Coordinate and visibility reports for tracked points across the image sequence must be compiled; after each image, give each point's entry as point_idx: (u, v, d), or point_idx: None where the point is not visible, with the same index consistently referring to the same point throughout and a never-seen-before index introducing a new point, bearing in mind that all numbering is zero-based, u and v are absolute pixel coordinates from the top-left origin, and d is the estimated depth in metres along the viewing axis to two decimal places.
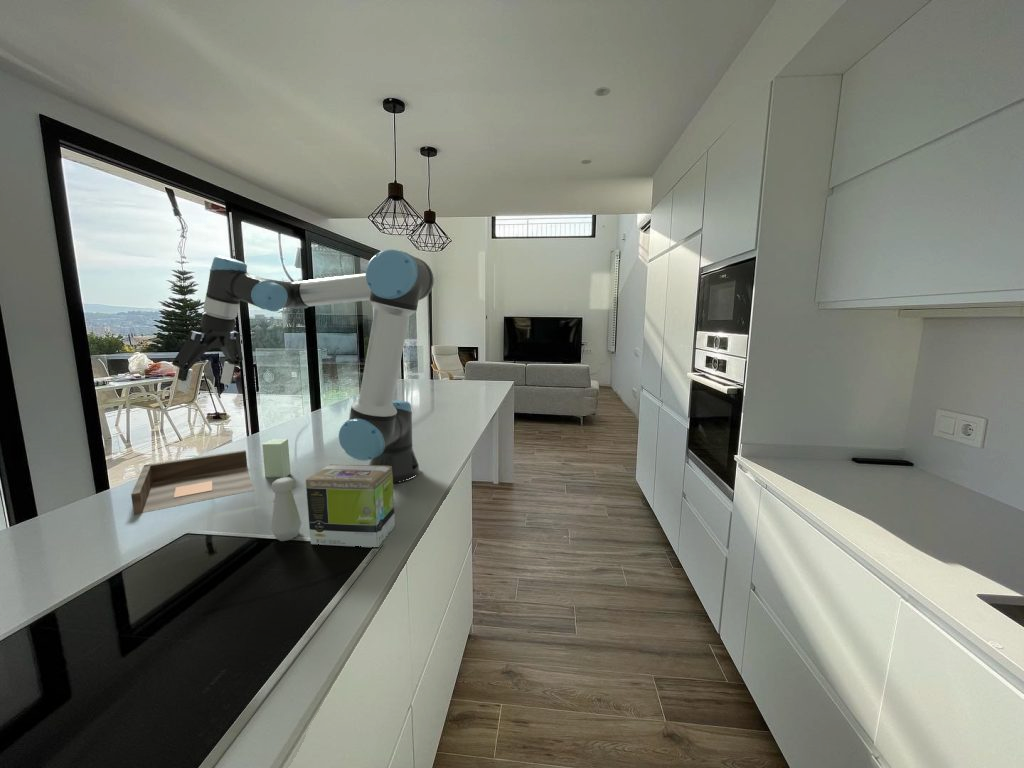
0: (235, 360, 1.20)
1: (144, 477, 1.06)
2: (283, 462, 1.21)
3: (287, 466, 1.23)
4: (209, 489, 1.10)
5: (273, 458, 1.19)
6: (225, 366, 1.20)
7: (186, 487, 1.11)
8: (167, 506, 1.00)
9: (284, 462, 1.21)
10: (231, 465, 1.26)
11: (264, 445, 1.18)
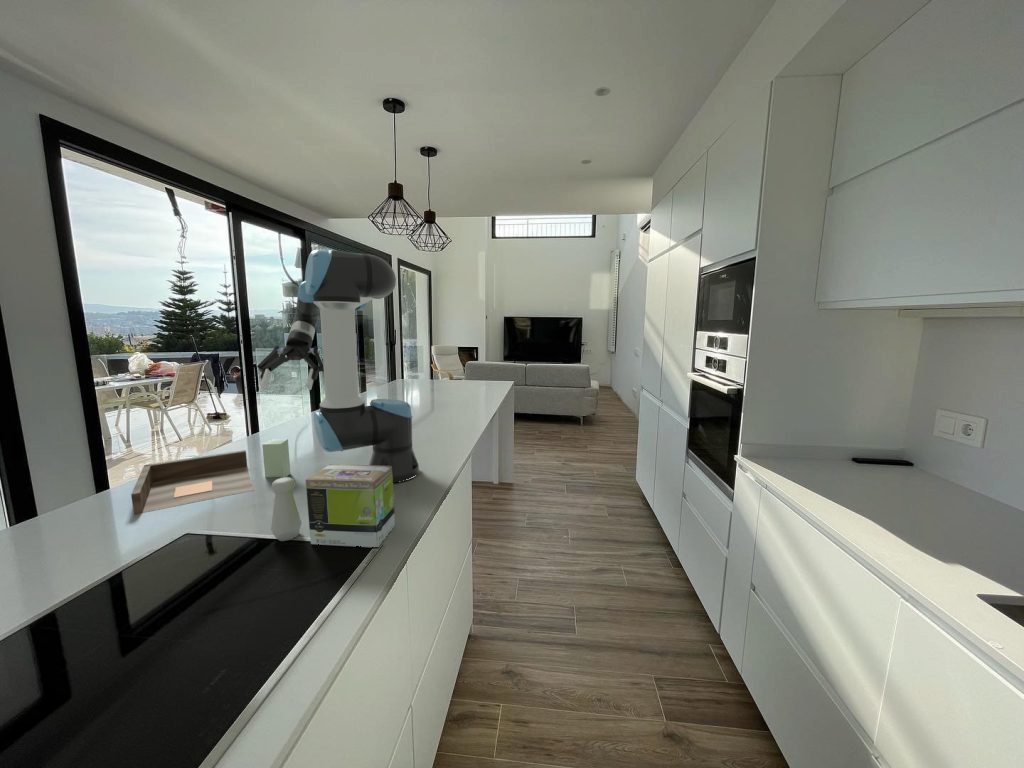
0: (314, 365, 1.33)
1: (144, 477, 1.06)
2: (283, 462, 1.21)
3: (287, 466, 1.23)
4: (209, 489, 1.10)
5: (273, 458, 1.19)
6: None
7: (186, 487, 1.11)
8: (167, 506, 1.00)
9: (284, 462, 1.21)
10: (231, 465, 1.26)
11: (264, 445, 1.18)
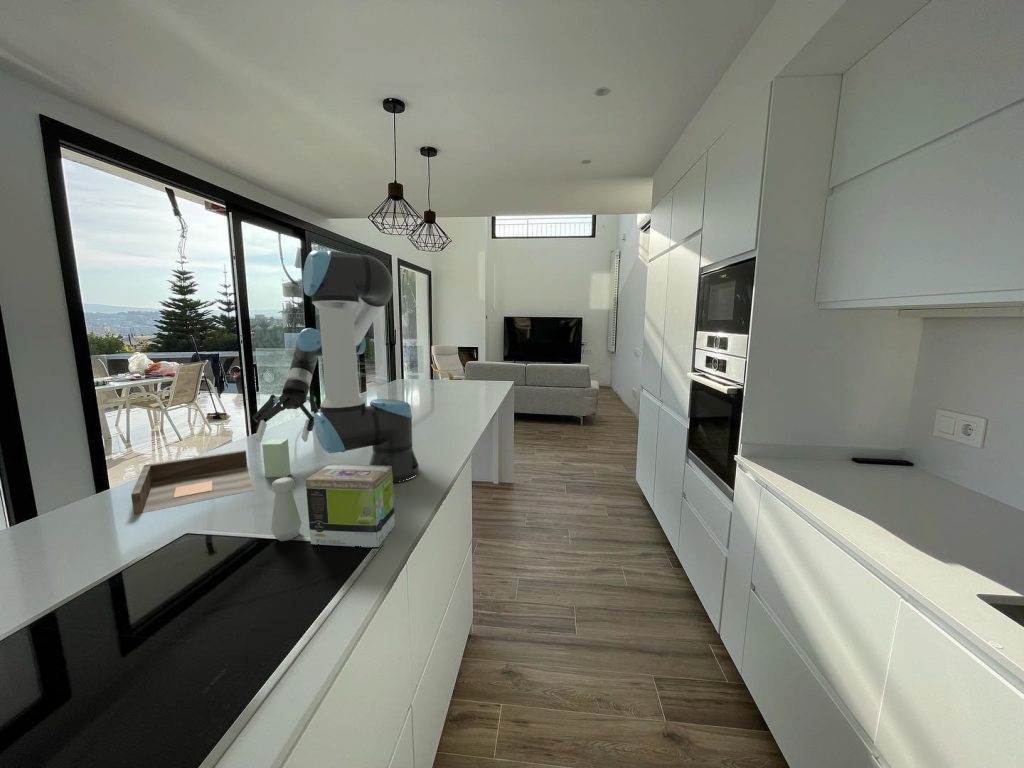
0: (310, 416, 1.31)
1: (144, 477, 1.06)
2: (283, 462, 1.21)
3: (287, 466, 1.23)
4: (209, 489, 1.10)
5: (273, 458, 1.19)
6: None
7: (186, 487, 1.11)
8: (167, 506, 1.00)
9: (284, 462, 1.21)
10: (231, 465, 1.26)
11: (264, 445, 1.18)
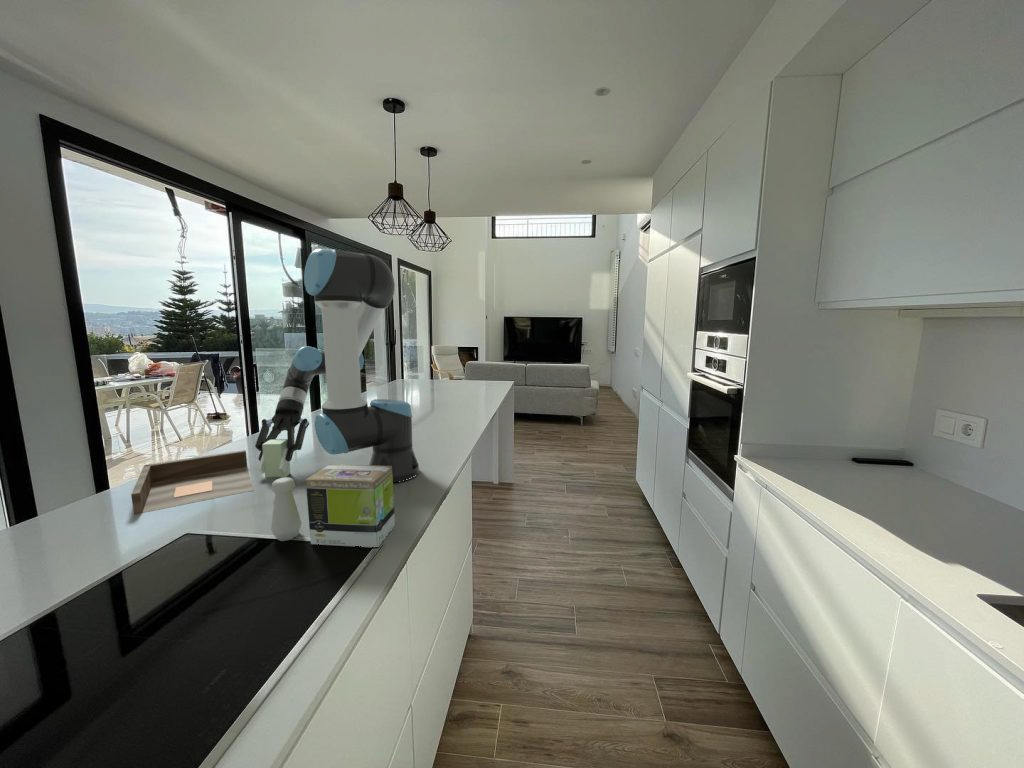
0: (290, 444, 1.22)
1: (144, 477, 1.06)
2: None
3: (287, 466, 1.23)
4: (209, 489, 1.10)
5: (273, 458, 1.19)
6: None
7: (186, 487, 1.11)
8: (167, 506, 1.00)
9: None
10: (231, 465, 1.26)
11: (264, 445, 1.18)
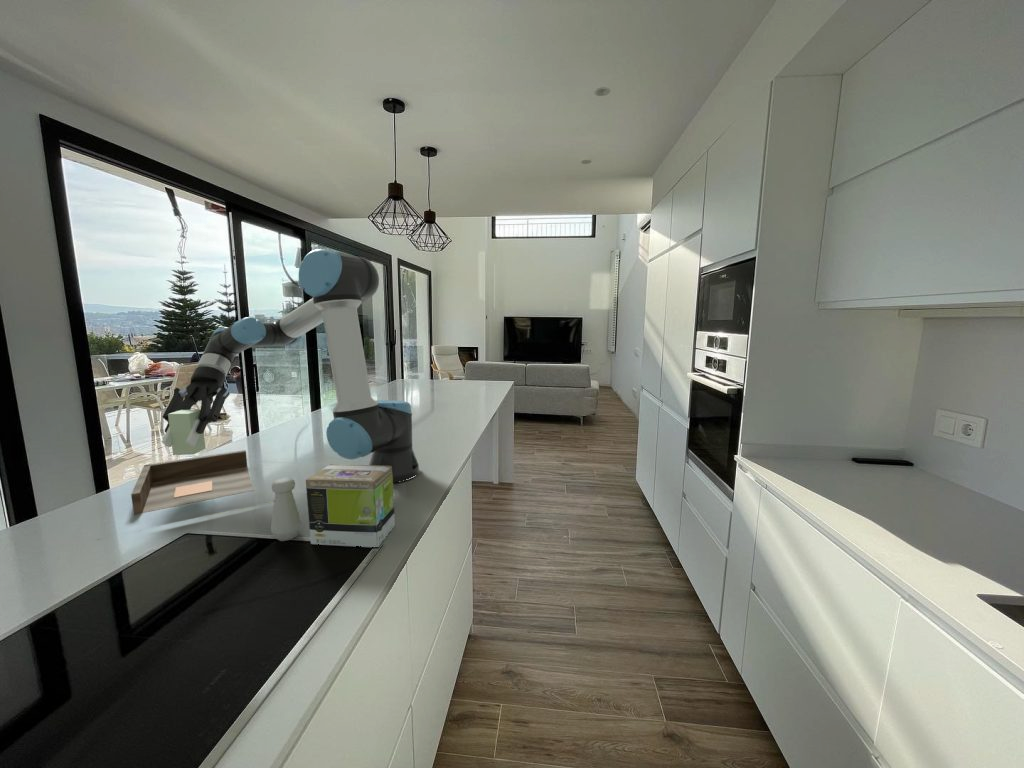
0: (202, 415, 1.09)
1: (144, 477, 1.06)
2: None
3: (201, 440, 1.10)
4: (209, 489, 1.10)
5: (181, 429, 1.06)
6: None
7: (186, 487, 1.11)
8: (167, 506, 1.00)
9: None
10: (231, 465, 1.26)
11: (170, 415, 1.05)
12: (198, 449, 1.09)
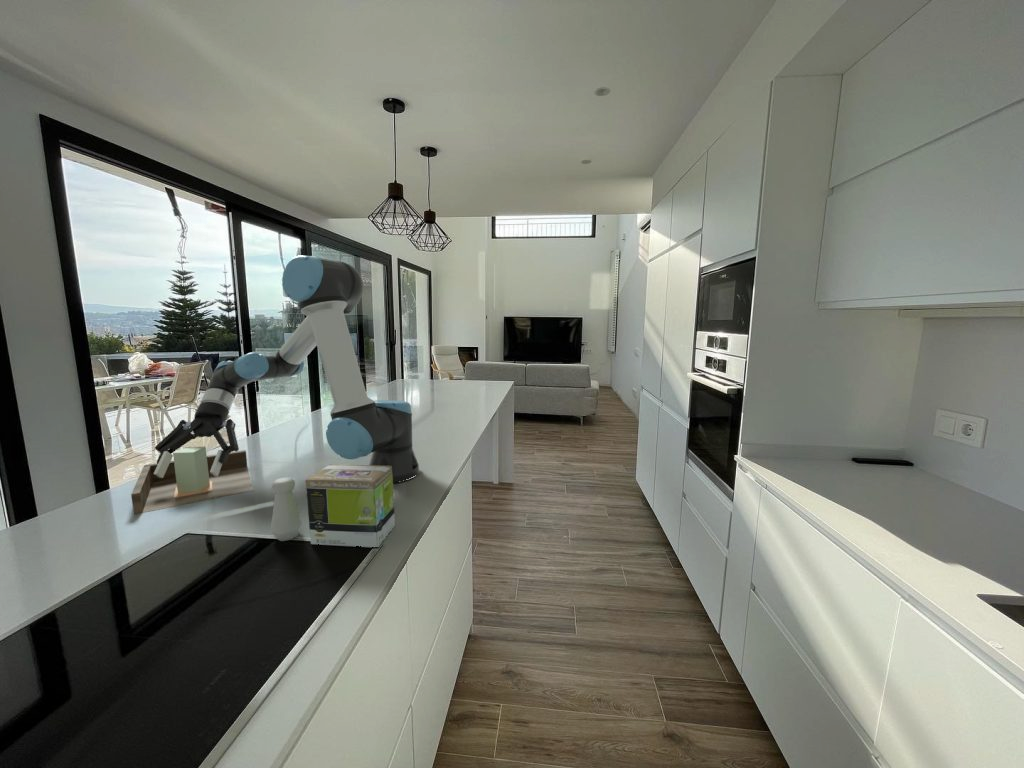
0: (223, 445, 1.12)
1: (144, 477, 1.06)
2: (199, 472, 1.09)
3: (205, 477, 1.12)
4: (209, 489, 1.10)
5: (185, 468, 1.07)
6: None
7: None
8: (167, 506, 1.00)
9: (200, 473, 1.09)
10: (231, 465, 1.26)
11: (175, 454, 1.06)
12: (202, 486, 1.10)
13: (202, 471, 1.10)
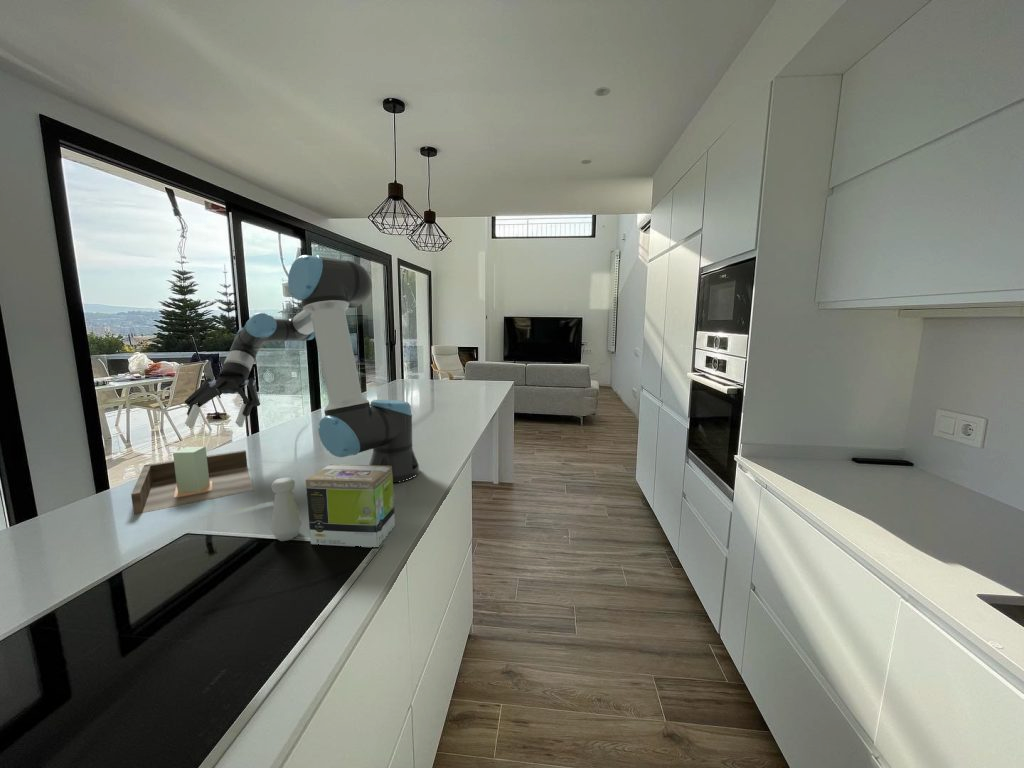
0: (246, 400, 1.24)
1: (144, 477, 1.06)
2: (199, 472, 1.09)
3: (205, 477, 1.12)
4: (209, 489, 1.10)
5: (185, 468, 1.07)
6: None
7: None
8: (167, 506, 1.00)
9: (200, 473, 1.09)
10: (231, 465, 1.26)
11: (175, 454, 1.06)
12: (202, 486, 1.10)
13: (202, 471, 1.10)
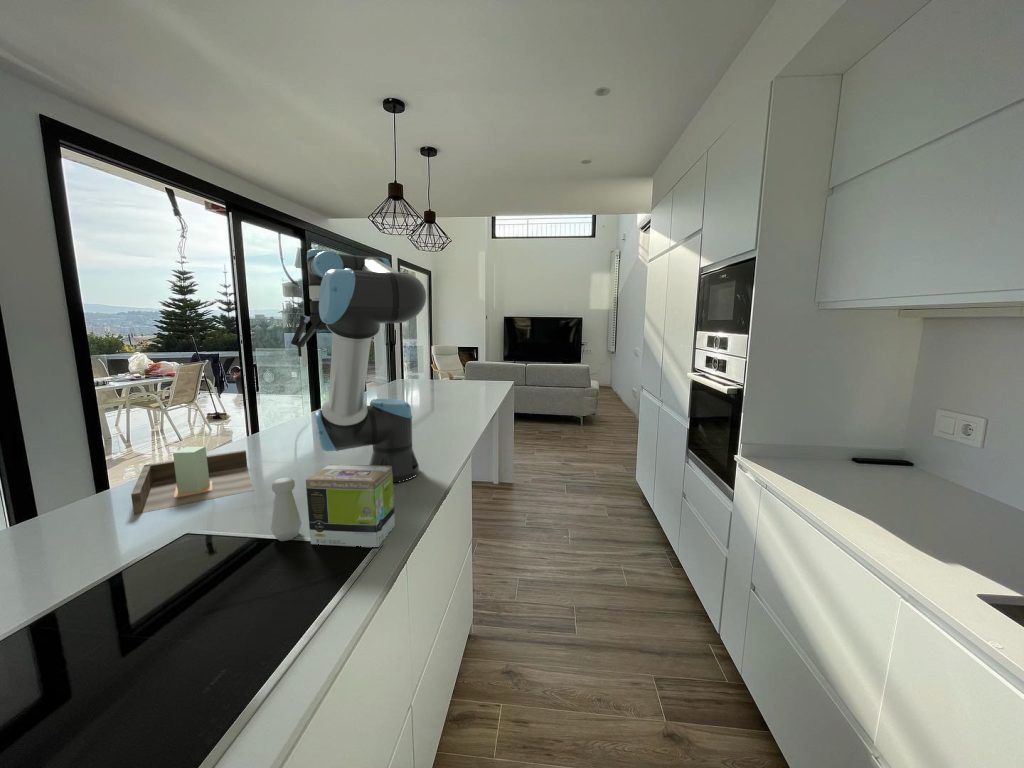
0: None
1: (144, 477, 1.06)
2: (199, 472, 1.09)
3: (205, 477, 1.12)
4: (209, 489, 1.10)
5: (185, 468, 1.07)
6: None
7: None
8: (167, 506, 1.00)
9: (200, 473, 1.09)
10: (231, 465, 1.26)
11: (175, 454, 1.06)
12: (202, 486, 1.10)
13: (202, 471, 1.10)
